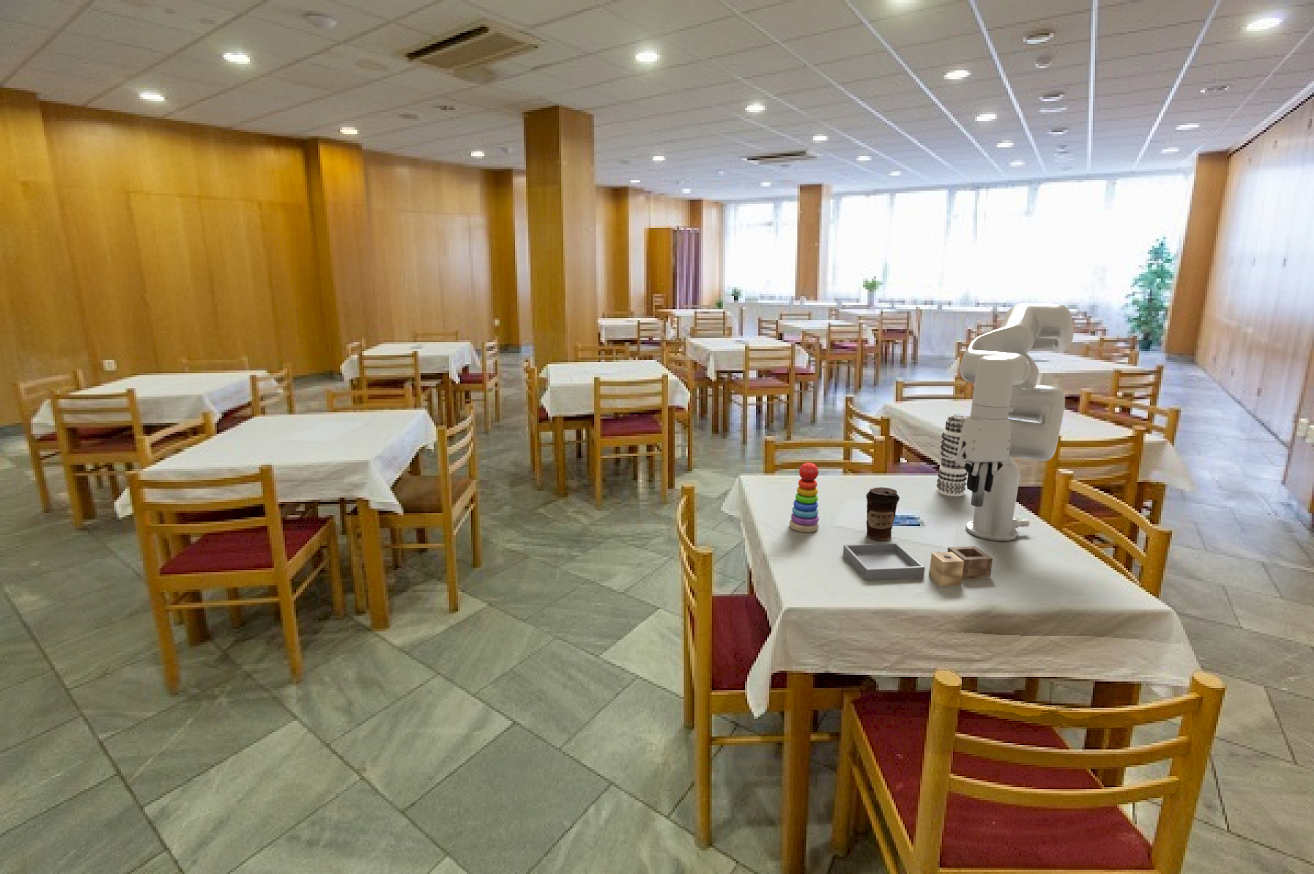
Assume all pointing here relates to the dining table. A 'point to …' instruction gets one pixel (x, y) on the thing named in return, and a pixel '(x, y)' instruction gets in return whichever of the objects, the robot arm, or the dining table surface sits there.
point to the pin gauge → (980, 485)
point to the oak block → (946, 569)
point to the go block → (973, 561)
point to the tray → (883, 561)
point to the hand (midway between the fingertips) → (978, 489)
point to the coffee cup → (881, 512)
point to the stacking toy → (806, 501)
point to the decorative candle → (951, 459)
